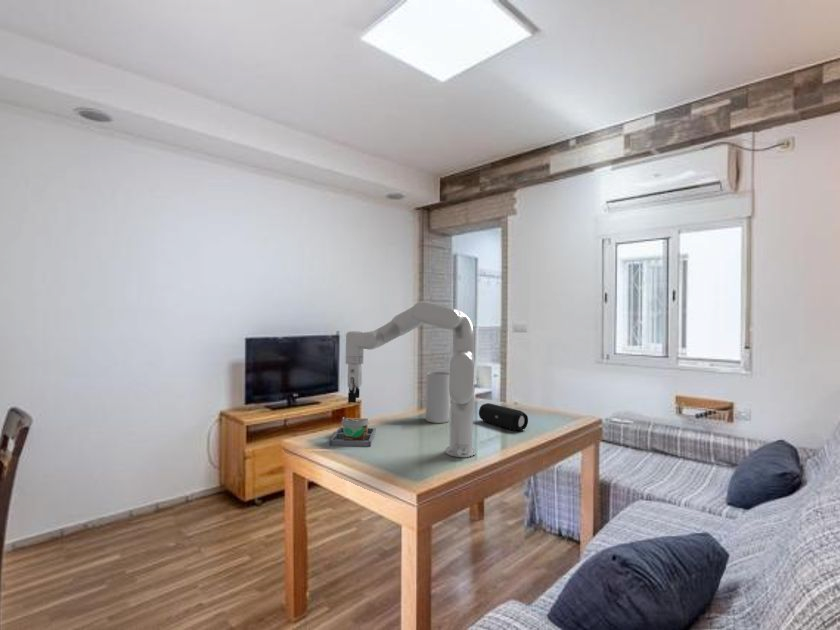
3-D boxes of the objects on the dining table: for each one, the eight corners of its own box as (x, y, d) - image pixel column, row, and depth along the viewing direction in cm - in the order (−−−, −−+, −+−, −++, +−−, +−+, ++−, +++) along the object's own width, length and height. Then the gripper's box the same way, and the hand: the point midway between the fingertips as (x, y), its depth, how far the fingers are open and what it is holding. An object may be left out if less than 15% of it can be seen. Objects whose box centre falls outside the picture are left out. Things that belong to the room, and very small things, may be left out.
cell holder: (370, 448, 189) (370, 441, 189) (329, 447, 189) (329, 440, 189) (375, 434, 210) (375, 428, 210) (339, 433, 210) (339, 427, 210)
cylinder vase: (449, 424, 233) (451, 375, 232) (425, 423, 233) (427, 374, 232) (448, 418, 245) (450, 372, 245) (425, 417, 245) (426, 371, 245)
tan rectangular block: (365, 437, 201) (366, 421, 201) (343, 436, 201) (343, 421, 201) (367, 433, 207) (368, 418, 207) (345, 433, 207) (346, 417, 207)
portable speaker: (477, 422, 238) (477, 403, 238) (489, 419, 245) (490, 401, 244) (516, 433, 219) (517, 413, 219) (528, 430, 225) (529, 410, 225)
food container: (335, 443, 192) (336, 419, 191) (342, 439, 197) (343, 416, 197) (362, 446, 188) (362, 422, 188) (368, 442, 194) (368, 419, 194)
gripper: (360, 362, 185) (359, 404, 185) (365, 358, 202) (365, 396, 202) (342, 362, 185) (341, 404, 185) (349, 357, 202) (348, 395, 202)
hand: (353, 400), depth 194 cm, fingers open, 9 cm apart
